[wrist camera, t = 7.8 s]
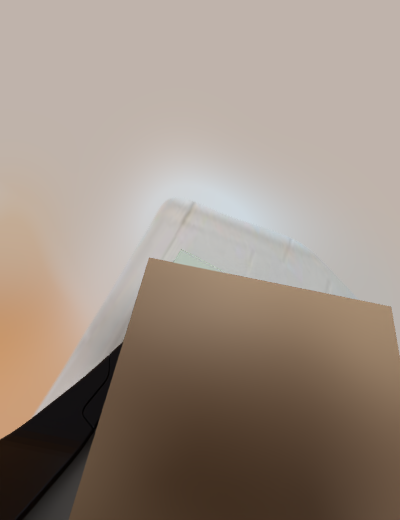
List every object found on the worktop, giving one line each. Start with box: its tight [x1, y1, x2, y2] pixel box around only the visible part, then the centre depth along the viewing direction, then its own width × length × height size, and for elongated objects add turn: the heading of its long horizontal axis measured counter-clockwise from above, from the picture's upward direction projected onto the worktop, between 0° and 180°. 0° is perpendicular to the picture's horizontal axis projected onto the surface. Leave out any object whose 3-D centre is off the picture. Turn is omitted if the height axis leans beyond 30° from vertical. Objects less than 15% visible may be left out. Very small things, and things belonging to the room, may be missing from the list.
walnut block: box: [69, 258, 400, 520], centre depth 9 cm, size 6×6×13 cm
